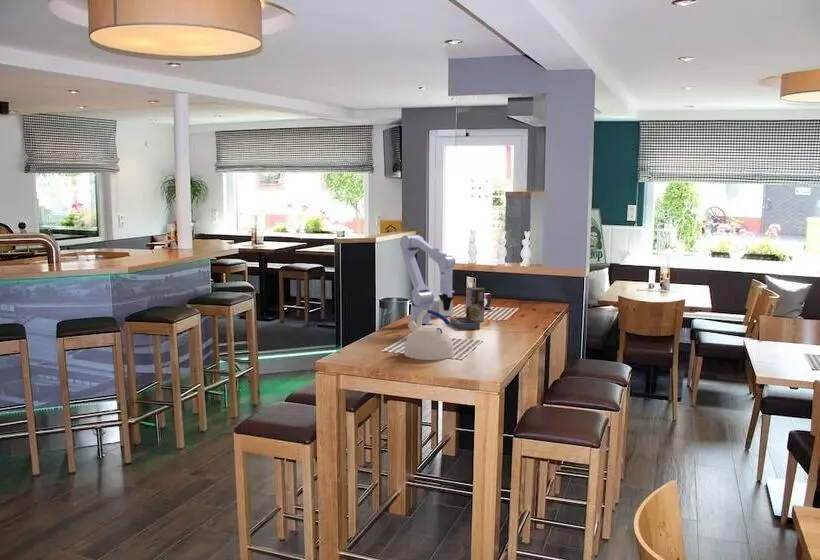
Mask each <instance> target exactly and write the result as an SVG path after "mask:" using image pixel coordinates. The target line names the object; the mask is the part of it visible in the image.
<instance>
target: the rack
mask: <svg viewBox="0 0 820 560" xmlns="http://www.w3.org/2000/svg"><path fill="white" fill-rule="evenodd" d="M449 322H450V323H451V324H450V325H451V326H453V327H454V326H455V327H454V328H456V329H457V328H458V329H457V330H458V331H466V330H467V329H468V330H469V329H473V330H480V329H481V326H480V325H481V324H480V321H476V320H474V319H473V318H470V317H466V316H465V317H464V316H460V317H457V316H456V317H449ZM463 329H464V330H463ZM465 329H466V330H465ZM468 330H467V331H468Z"/></svg>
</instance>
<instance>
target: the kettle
mask: <svg viewBox="0 0 820 560" xmlns="http://www.w3.org/2000/svg"><path fill="white" fill-rule="evenodd" d="M426 313H430V314H433V315H435V316H437V317H436V318H439V319H440V320H442V321H443V323H444V324H445V325H451V323H450V320H449V319H448V318H447V317H444V316H443V315H441V314H439V313H437V312H435V311H432V310H431V309H430V310H425V311H423V312H421V313H420V314H419V316H418V318H417V324H416V323H415V321H411V320H410V321H411V322H408V324H407V327H408V328H409V329H410V330H411V332H410V334H409V335H408V336H407V338H406V340H405V342H404V351H403V355H404V356H405V357H407V358H409V357H410V358H409V359H413V358H414V359H415V360H419V361H421V360H422V361H440V360H447V359H450V358H452V357H454V355H455V353H454V352H455V351H454V342H453V340H452V338H451V336H450V335H449V333H447V332H446V331H445V330H444V329H443V328H442V327H439V326H436V325H433V324H425V325H422V317H423V315H424V314H426ZM414 359H413V360H414Z"/></svg>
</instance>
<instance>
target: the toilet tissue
mask: <svg viewBox="0 0 820 560" xmlns="http://www.w3.org/2000/svg"><path fill="white" fill-rule="evenodd" d="M440 301H441V299H440V297H434V300H433V302H432V303H431V305H430V310H432V311H435V312H437V313H439V304H440ZM454 311H455V310H454V308H453V312H452V316H451V317H454V316H455V312H454ZM430 315H431V316H430V317H432V316H434V317H433V318H438V317H437V316H435V315H433V314H430ZM453 315H454V316H453ZM444 317H445V318H447V317H446V316H444Z"/></svg>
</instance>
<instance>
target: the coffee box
mask: <svg viewBox="0 0 820 560" xmlns="http://www.w3.org/2000/svg"><path fill="white" fill-rule="evenodd" d="M465 289H466V295H465V299H466V303H465V307H466V308H465V317H470V318H473V319H474V320H476V321H477V322H485V287H466V288H465Z"/></svg>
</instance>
